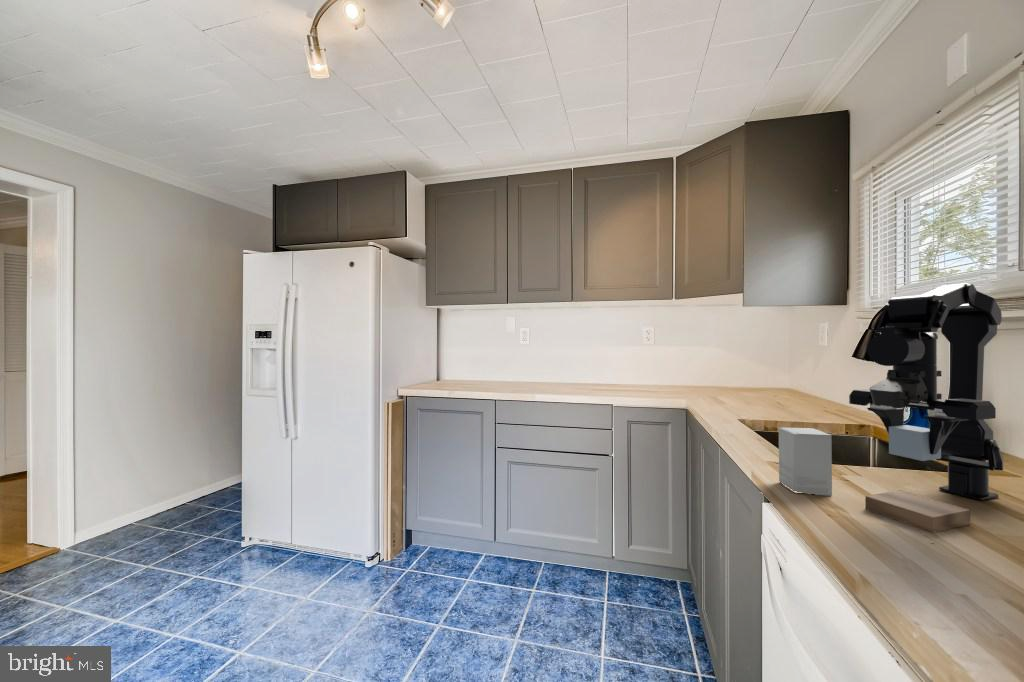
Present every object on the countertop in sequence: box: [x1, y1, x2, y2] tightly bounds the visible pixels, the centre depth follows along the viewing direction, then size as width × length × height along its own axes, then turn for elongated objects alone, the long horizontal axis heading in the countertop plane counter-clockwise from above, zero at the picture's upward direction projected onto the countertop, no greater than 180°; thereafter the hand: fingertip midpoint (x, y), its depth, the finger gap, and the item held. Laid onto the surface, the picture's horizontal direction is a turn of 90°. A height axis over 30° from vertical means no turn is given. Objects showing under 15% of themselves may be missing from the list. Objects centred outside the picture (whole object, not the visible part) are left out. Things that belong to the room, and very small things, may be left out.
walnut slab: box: [864, 489, 971, 533], centre depth 75 cm, size 10×10×2 cm
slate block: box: [888, 424, 941, 462], centre depth 75 cm, size 5×5×5 cm
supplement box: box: [778, 427, 833, 497], centre depth 89 cm, size 7×7×13 cm
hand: (914, 450), depth 75 cm, fingers closed on slate block, 5 cm apart
